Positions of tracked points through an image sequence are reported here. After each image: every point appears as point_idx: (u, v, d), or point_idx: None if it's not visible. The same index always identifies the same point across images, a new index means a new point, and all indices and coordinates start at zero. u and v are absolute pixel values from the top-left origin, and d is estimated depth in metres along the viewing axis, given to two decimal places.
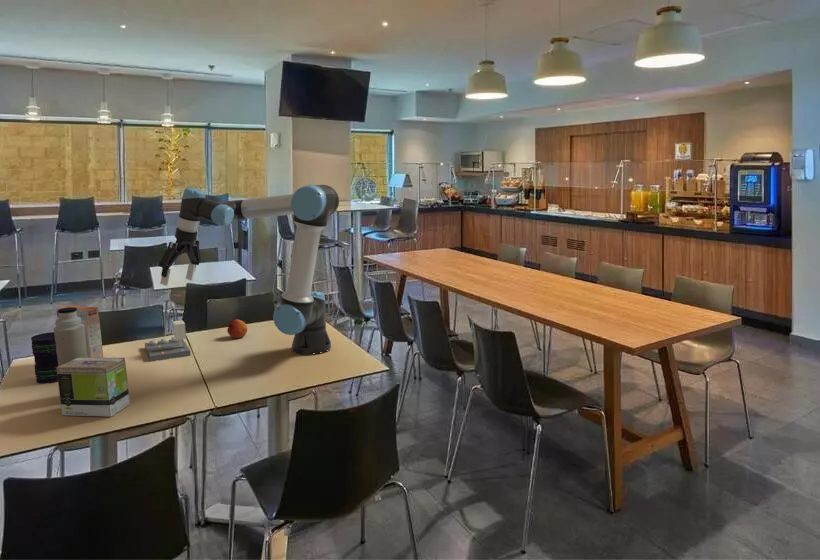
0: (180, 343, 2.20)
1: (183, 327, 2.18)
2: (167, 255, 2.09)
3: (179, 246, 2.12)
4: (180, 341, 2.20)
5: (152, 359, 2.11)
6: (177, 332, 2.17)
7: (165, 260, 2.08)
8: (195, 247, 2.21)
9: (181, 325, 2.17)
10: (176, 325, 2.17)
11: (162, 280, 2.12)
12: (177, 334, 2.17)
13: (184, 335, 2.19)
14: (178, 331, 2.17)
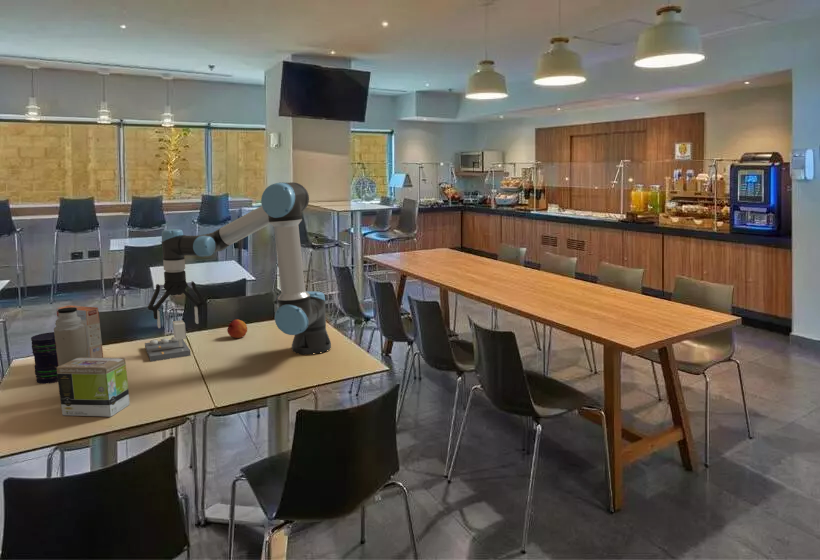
0: (180, 343, 2.20)
1: (183, 327, 2.18)
2: (152, 297, 2.14)
3: (165, 287, 2.15)
4: (180, 341, 2.20)
5: (152, 359, 2.11)
6: (177, 332, 2.17)
7: (150, 302, 2.13)
8: None
9: (181, 325, 2.17)
10: (176, 325, 2.17)
11: (157, 323, 2.17)
12: (177, 334, 2.17)
13: (184, 335, 2.19)
14: (178, 331, 2.17)
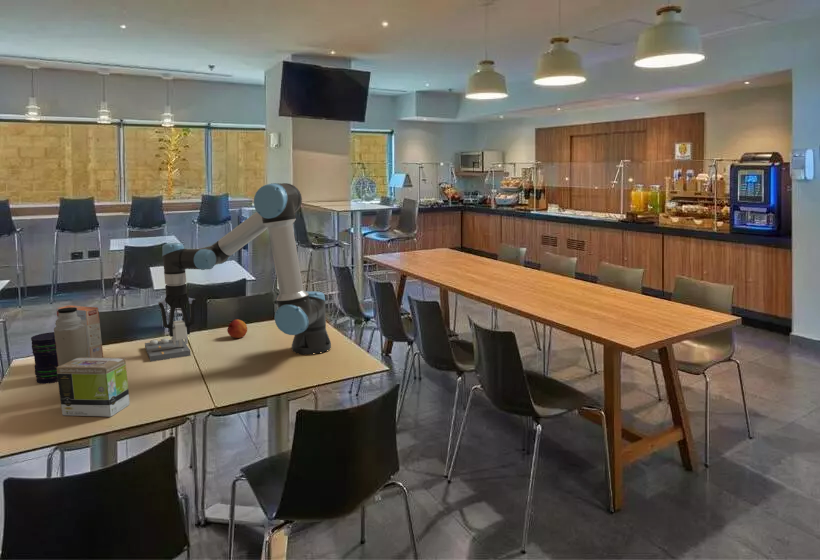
0: (180, 343, 2.20)
1: (183, 327, 2.18)
2: (162, 315, 2.16)
3: (167, 301, 2.16)
4: (180, 341, 2.20)
5: (152, 359, 2.11)
6: (177, 332, 2.17)
7: (163, 320, 2.16)
8: (190, 305, 2.20)
9: (181, 325, 2.17)
10: (176, 325, 2.17)
11: (173, 340, 2.20)
12: (177, 334, 2.17)
13: (184, 335, 2.19)
14: (178, 331, 2.17)
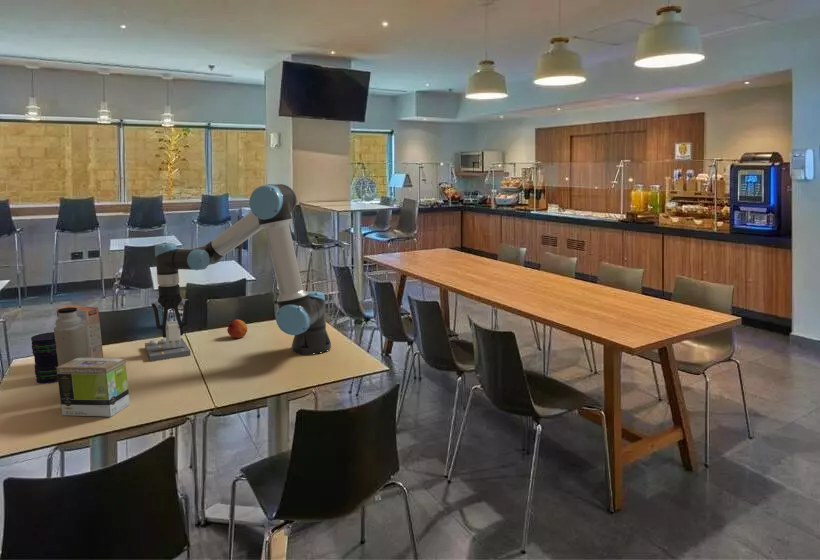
0: (173, 344, 2.19)
1: (176, 328, 2.17)
2: (155, 316, 2.15)
3: (160, 302, 2.14)
4: (173, 342, 2.19)
5: (152, 359, 2.11)
6: (170, 333, 2.16)
7: None
8: (183, 306, 2.19)
9: (174, 326, 2.16)
10: (169, 326, 2.15)
11: (166, 341, 2.19)
12: (170, 335, 2.16)
13: (177, 336, 2.17)
14: (171, 332, 2.16)
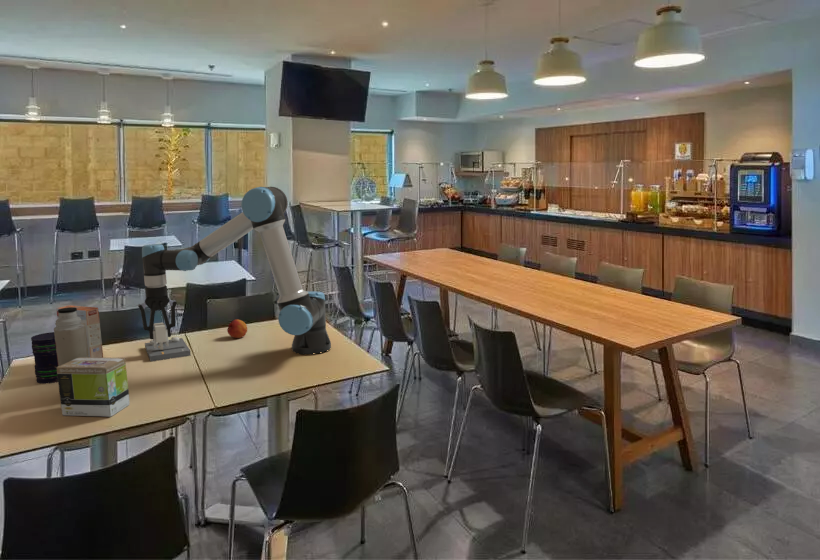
0: (161, 346, 2.17)
1: (163, 329, 2.15)
2: (142, 318, 2.13)
3: (147, 303, 2.12)
4: (161, 344, 2.17)
5: (152, 359, 2.11)
6: (157, 335, 2.14)
7: (143, 323, 2.13)
8: (171, 307, 2.17)
9: (161, 327, 2.14)
10: (156, 327, 2.13)
11: (153, 343, 2.17)
12: (157, 337, 2.14)
13: (164, 338, 2.15)
14: (158, 334, 2.14)
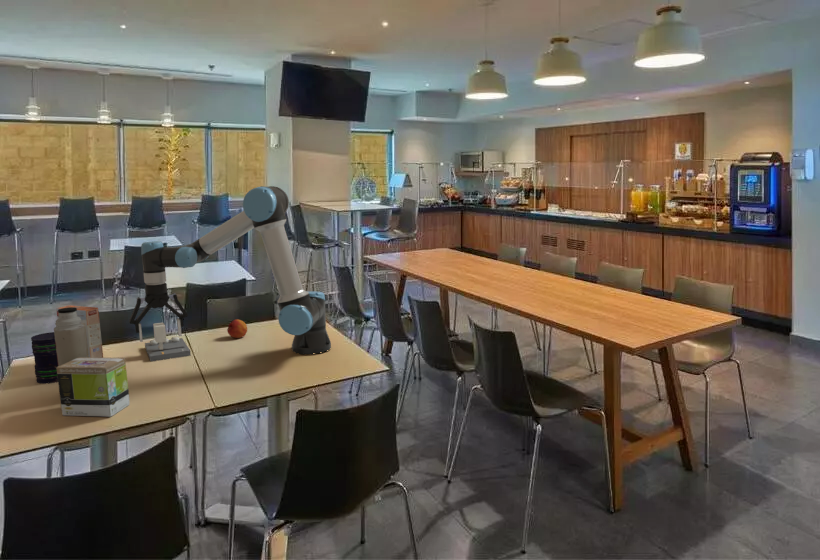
0: (160, 346, 2.17)
1: (163, 329, 2.15)
2: (133, 310, 2.11)
3: (146, 300, 2.12)
4: (160, 344, 2.17)
5: (152, 359, 2.11)
6: (157, 335, 2.14)
7: (131, 315, 2.10)
8: None
9: (161, 327, 2.14)
10: (156, 327, 2.13)
11: (139, 336, 2.14)
12: (157, 337, 2.14)
13: (164, 338, 2.15)
14: (158, 334, 2.14)
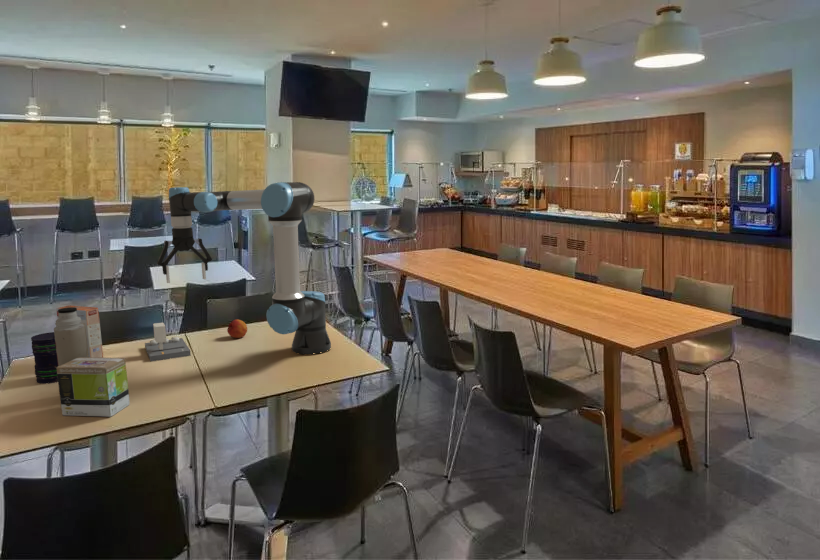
0: (160, 346, 2.17)
1: (163, 329, 2.15)
2: (161, 253, 2.21)
3: (174, 243, 2.22)
4: (160, 344, 2.17)
5: (152, 359, 2.11)
6: (157, 335, 2.14)
7: (159, 257, 2.20)
8: (199, 245, 2.28)
9: (161, 327, 2.14)
10: (156, 327, 2.13)
11: (166, 278, 2.24)
12: (157, 337, 2.14)
13: (164, 338, 2.15)
14: (158, 334, 2.14)
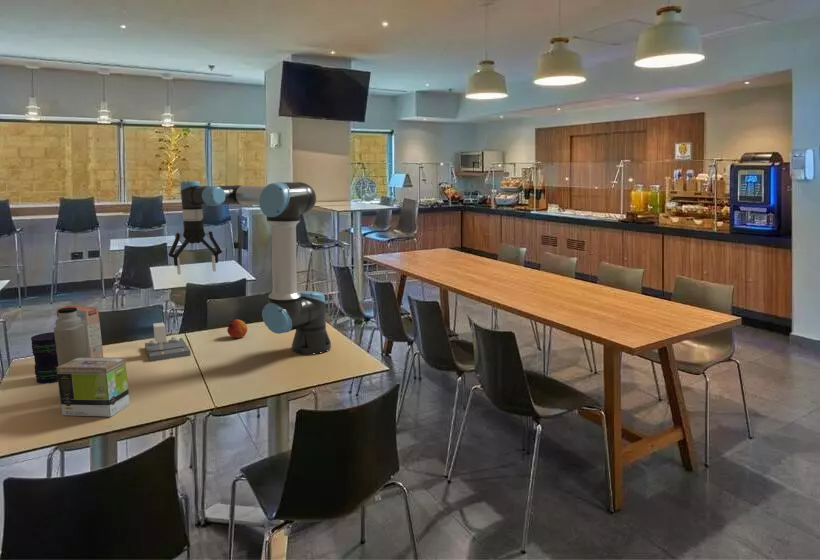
0: (160, 346, 2.17)
1: (163, 329, 2.15)
2: (173, 244, 2.26)
3: (185, 236, 2.27)
4: (160, 344, 2.17)
5: (152, 359, 2.11)
6: (157, 335, 2.14)
7: (171, 249, 2.26)
8: (210, 238, 2.33)
9: (161, 327, 2.14)
10: (156, 327, 2.13)
11: (177, 270, 2.30)
12: (157, 337, 2.14)
13: (164, 338, 2.15)
14: (158, 334, 2.14)
